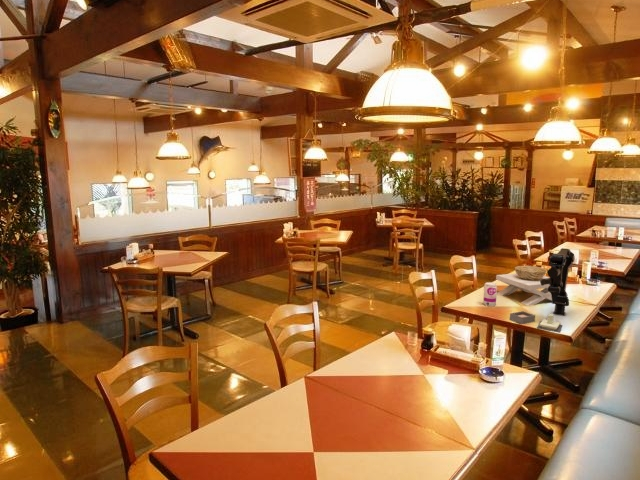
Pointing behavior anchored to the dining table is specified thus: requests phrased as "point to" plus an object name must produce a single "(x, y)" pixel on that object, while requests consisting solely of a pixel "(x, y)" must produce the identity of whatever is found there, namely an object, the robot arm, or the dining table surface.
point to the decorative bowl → (526, 283)
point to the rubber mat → (550, 329)
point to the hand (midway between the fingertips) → (554, 299)
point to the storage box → (522, 317)
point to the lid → (550, 323)
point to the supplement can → (490, 294)
